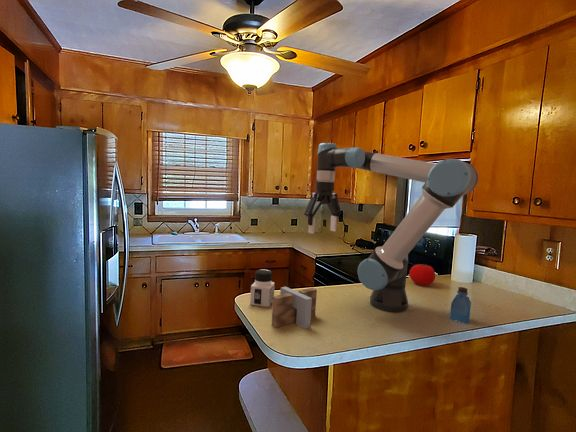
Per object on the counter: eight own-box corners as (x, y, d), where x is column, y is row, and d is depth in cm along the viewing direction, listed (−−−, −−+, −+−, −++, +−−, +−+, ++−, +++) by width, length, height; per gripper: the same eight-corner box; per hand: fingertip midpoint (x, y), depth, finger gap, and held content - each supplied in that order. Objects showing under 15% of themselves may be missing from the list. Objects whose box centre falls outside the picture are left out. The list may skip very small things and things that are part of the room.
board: (310, 313, 125) (312, 287, 124) (315, 316, 123) (316, 289, 122) (271, 325, 113) (273, 296, 112) (275, 327, 112) (277, 298, 110)
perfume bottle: (468, 323, 124) (471, 292, 122) (449, 319, 127) (453, 288, 126) (469, 318, 129) (472, 288, 128) (451, 314, 132) (454, 284, 131)
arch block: (279, 314, 123) (280, 287, 122) (284, 312, 124) (285, 286, 123) (304, 328, 112) (306, 299, 111) (310, 326, 114) (311, 298, 113)
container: (269, 307, 129) (270, 274, 127) (249, 304, 130) (251, 272, 129) (273, 300, 136) (275, 269, 135) (255, 298, 138) (257, 267, 136)
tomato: (432, 289, 163) (434, 268, 162) (406, 284, 169) (408, 263, 168) (436, 284, 172) (438, 264, 171) (411, 279, 179) (413, 260, 178)
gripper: (337, 182, 150) (334, 229, 152) (297, 180, 134) (294, 232, 136) (351, 182, 145) (348, 231, 147) (310, 180, 128) (307, 235, 130)
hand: (322, 232), depth 141 cm, fingers open, 13 cm apart
